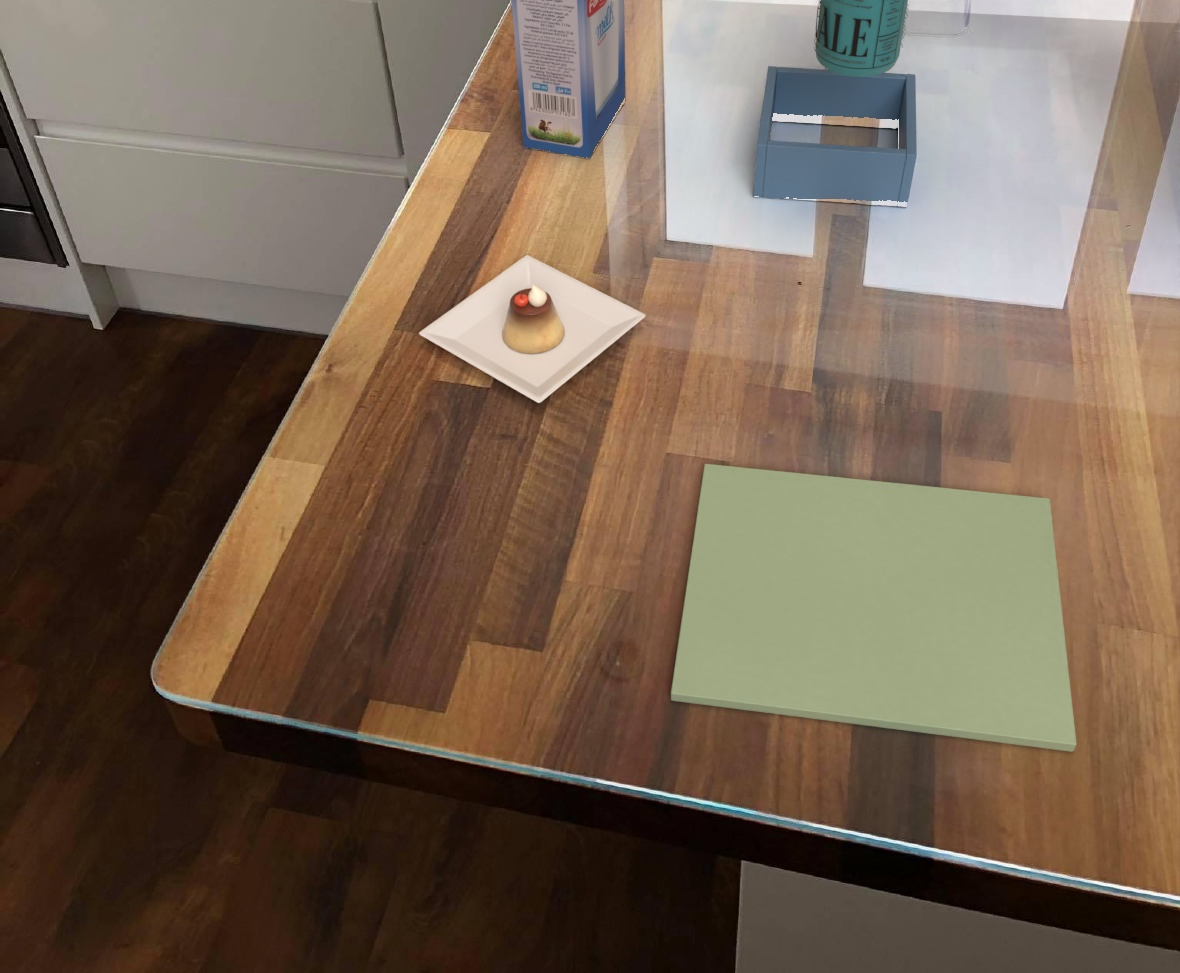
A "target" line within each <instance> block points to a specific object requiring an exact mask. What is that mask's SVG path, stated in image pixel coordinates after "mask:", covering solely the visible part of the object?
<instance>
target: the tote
mask: <svg viewBox="0 0 1180 973" xmlns="http://www.w3.org/2000/svg"><path fill="white" fill-rule="evenodd" d="M916 80H917V79H916V74H914V73H896V72H884V73H882V74H878V75H874V76H867V77H853V76H846V75H841V74H838V73H835V72H832V71H830V70H828V69H826V68H825V69H824V68H808V67H807V68H806V67H790V66H777V65H776V66H775V65H774V66H772V65H768V66H767V72H766V79H765V86H764V93H763V100H762V106H761V114H760V120H759V126H758V135H757V142H756V152H755V162H754V163H755V164H754V178H753V179H754V180H753V189H752V197H753V196H759V197H762V198H763V197H769V198H768V199H773V198H782V199H781V200H784V199H783V198H786V197H789V199H793V198H797V199H847V200H852V199H853V200H854V201H856V200H860V201H862V200H866V201H879V200H880V201H882V200H883V201H887V200H891V201H897V202H898V201H899V202H904V201H905V202H908V203H909V198H910V193H911V188H912V187H911V186H912V183H913V177H914V173H915V167H916V162H917V161H916V160H917V156H918V155H917V153H918V150H917V149H918V148H917V146H918V144H917V90H916V88H917V87H916V86H917V85H916V83H917V82H916ZM773 113H777V114H787V115H789V114H794V115H803V116H807V115H810V116H813V115H817V116H818V115H823V116H824V115H825V116H843V117H852V118H853V117H858V118H864V117H869V118H876V119H892V120H895V119H897V120H898V119H899V149H897V148H892V147H876V146H864V145H863V146H861V145H845V144H833V143H832V144H830V143H815V142H798V141H786V140H785V141H783V140H771V135H770V133H772V128H771V125H772V126H773V121H772V117H773Z"/></svg>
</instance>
